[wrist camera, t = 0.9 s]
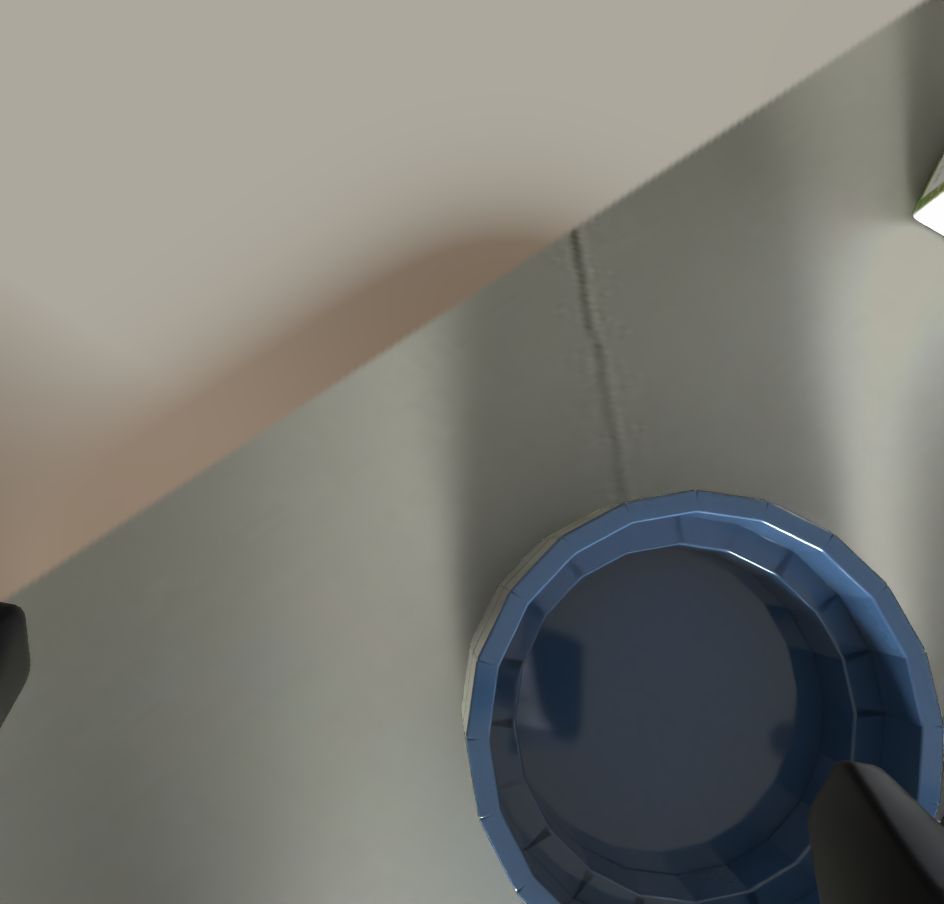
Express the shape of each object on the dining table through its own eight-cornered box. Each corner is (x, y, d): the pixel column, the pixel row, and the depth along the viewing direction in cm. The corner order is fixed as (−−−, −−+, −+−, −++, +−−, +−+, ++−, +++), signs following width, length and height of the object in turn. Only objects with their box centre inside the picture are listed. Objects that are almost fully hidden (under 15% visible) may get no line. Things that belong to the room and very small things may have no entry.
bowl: (929, 784, 23) (1032, 833, 19) (584, 996, 22) (617, 1095, 18) (732, 435, 24) (789, 412, 20) (392, 617, 23) (383, 631, 19)
